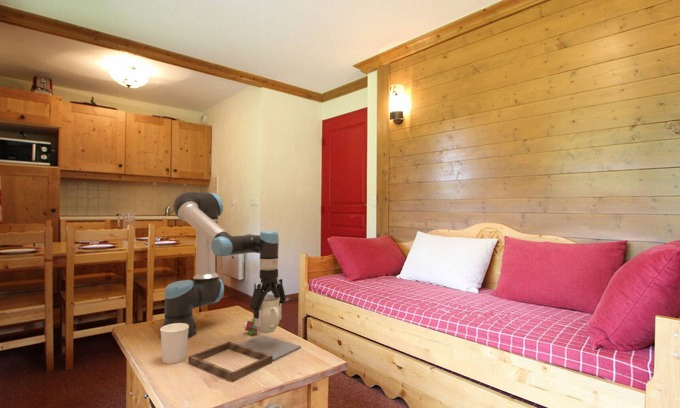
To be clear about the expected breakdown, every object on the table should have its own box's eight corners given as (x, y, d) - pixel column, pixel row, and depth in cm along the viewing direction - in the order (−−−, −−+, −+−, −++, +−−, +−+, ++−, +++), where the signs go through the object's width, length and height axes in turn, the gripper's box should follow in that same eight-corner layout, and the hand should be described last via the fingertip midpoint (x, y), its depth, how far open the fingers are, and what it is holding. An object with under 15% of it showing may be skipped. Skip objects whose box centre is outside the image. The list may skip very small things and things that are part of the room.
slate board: (234, 348, 146) (234, 346, 146) (263, 336, 159) (263, 335, 159) (273, 361, 134) (273, 359, 134) (301, 348, 147) (301, 346, 147)
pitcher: (264, 340, 135) (264, 304, 136) (246, 327, 150) (247, 294, 150) (290, 334, 142) (290, 300, 142) (270, 323, 156) (271, 291, 157)
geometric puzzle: (258, 324, 169) (249, 313, 166) (266, 328, 164) (257, 316, 161) (247, 336, 165) (238, 325, 162) (255, 340, 160) (246, 329, 157)
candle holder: (159, 366, 128) (160, 333, 128) (159, 356, 137) (160, 325, 137) (189, 361, 133) (190, 329, 133) (187, 352, 141) (187, 321, 142)
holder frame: (188, 363, 131) (188, 356, 131) (229, 347, 146) (229, 341, 146) (232, 381, 117) (232, 374, 118) (272, 362, 133) (272, 355, 133)
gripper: (253, 273, 135) (253, 331, 135) (294, 265, 154) (294, 316, 154) (240, 271, 139) (239, 328, 139) (281, 264, 159) (281, 314, 158)
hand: (268, 322), depth 146 cm, fingers closed on pitcher, 11 cm apart
